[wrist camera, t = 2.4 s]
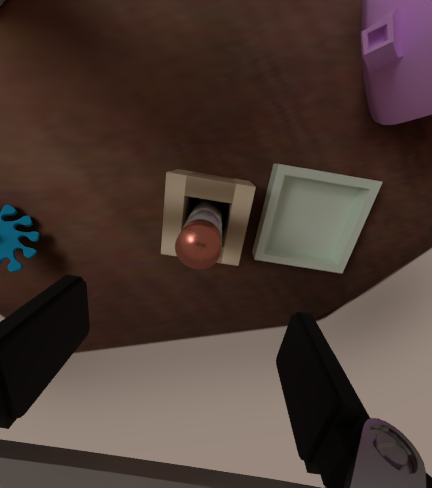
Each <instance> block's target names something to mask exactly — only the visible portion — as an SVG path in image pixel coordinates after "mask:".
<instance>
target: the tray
mask: <svg viewBox="0 0 432 488" xmlns="http://www.w3.org/2000/svg"><path fill="white" fill-rule="evenodd" d="M381 185H382V182H381V181H375V180H369V179H363V178H358V177H352V176H346V175H340V174H334V173H328V172H323V171H317V170H311V169H305V168H299V167H293V166H288V165H282V164H275V163H274V164H273V168H272V172H271V176H270V181H269V185H268V189H267V193H266V197H265V201H264V205H263V209H262V213H261V217H260V222H259V226H258V230H257V234H256V238H255V242H254V246H253V250H252V253H253V257H254V260H260V261H266V262H273V263H279V264H285V265H292V266H298V267H304V268H311V269H317V270H323V271H330V272H336V273H343V271H344V269H345V267H346V264H347V262H348V260H349V257H350V255H351V253H352V251H353V248H354V246H355V244H356V242H357V239H358V237H359V235H360V232H361V230H362V228H363V226H364V223H365V221H366V219H367V217H368V214H369V212H370V210H371V207H372V205H373V203H374V201H375V198H376V196H377V194H378V191H379V189H380V187H381Z"/></svg>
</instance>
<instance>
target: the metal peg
mask: <svg viewBox="0 0 432 488" xmlns="http://www.w3.org/2000/svg"><path fill="white" fill-rule="evenodd" d="M221 250H222V206H221V203H220V202H219V201H213V200H207V199H200V200H199V201H198V202H197V204H196V205H195V207H194V209H193V211H192V212H191V214H190V216H189V218H188V219H187V221H186V223H185V225H184V227H183V228H182V230H181V232H180V234H179V235H178V237H177V239H176V242H175V251H176V255H177V257H178V258H179V260H180V261H181V262H182V263H183V264H184V265H186V266H188V267H190V268H193V269H205V268H208V267H210V266H212V265H214V264H215V263H216V262H217V261H218V259H219V257H220V255H221Z"/></svg>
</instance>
